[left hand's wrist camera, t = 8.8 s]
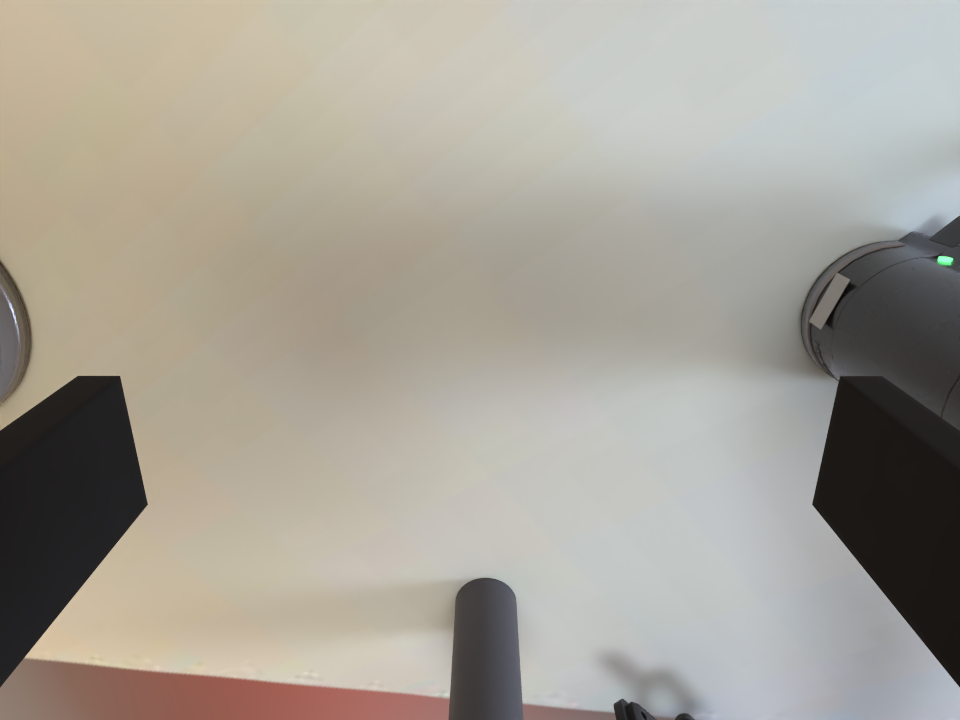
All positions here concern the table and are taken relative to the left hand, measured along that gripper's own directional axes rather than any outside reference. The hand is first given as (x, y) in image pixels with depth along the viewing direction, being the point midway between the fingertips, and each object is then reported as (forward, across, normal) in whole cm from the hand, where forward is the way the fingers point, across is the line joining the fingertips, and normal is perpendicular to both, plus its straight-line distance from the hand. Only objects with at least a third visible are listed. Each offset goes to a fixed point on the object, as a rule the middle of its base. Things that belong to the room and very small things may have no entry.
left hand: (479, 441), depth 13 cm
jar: (+30, 0, +31) cm, 43 cm away
